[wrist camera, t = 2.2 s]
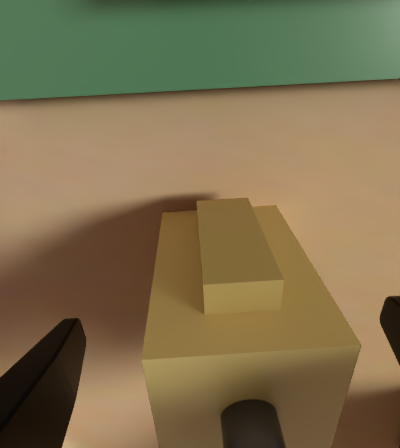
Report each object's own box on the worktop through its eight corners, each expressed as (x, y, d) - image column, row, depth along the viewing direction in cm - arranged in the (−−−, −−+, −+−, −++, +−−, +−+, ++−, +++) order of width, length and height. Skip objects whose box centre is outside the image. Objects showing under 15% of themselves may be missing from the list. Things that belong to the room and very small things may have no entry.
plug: (269, 292, 13) (351, 523, 6) (172, 298, 13) (160, 537, 6) (277, 184, 10) (417, 377, 4) (160, 190, 10) (121, 398, 4)
